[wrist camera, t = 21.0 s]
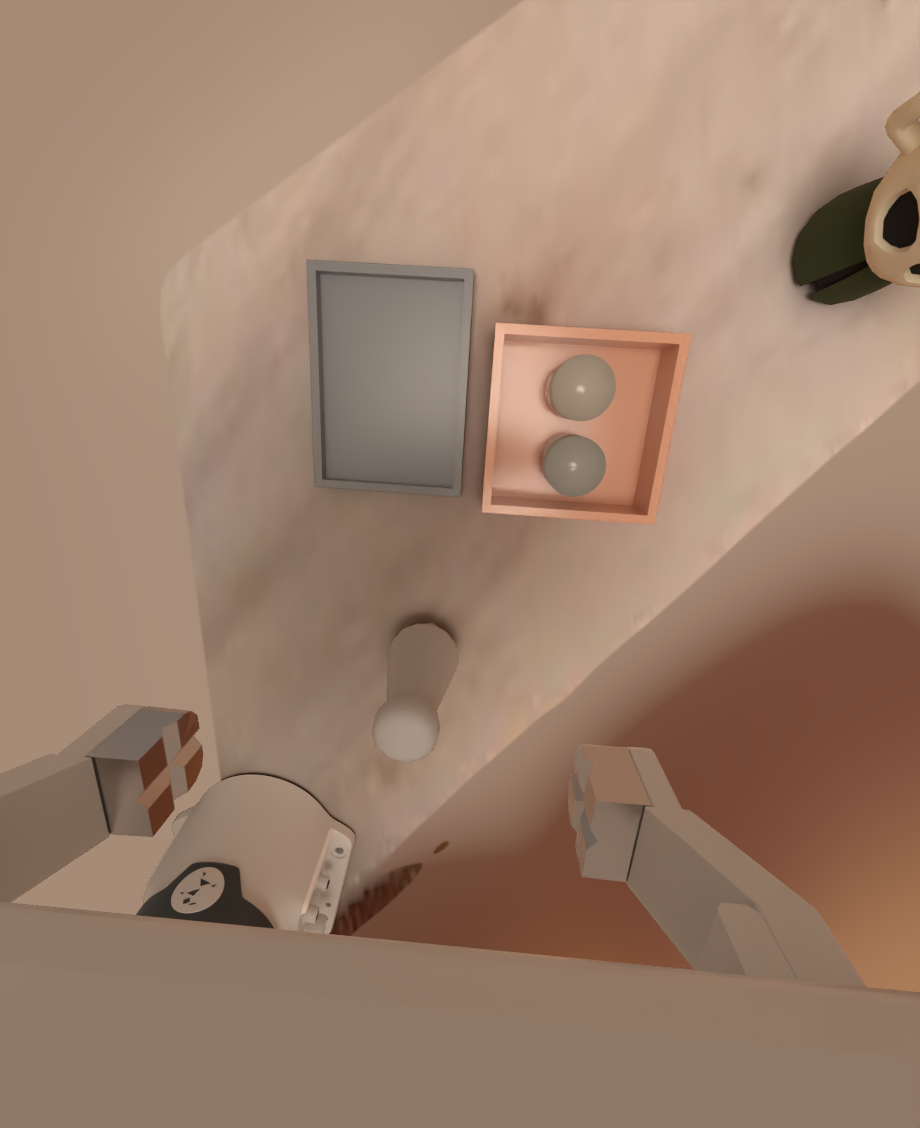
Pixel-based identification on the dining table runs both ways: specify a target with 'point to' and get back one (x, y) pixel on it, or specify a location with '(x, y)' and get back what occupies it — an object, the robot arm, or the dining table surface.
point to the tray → (389, 375)
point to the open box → (623, 430)
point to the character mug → (869, 226)
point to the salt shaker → (414, 692)
